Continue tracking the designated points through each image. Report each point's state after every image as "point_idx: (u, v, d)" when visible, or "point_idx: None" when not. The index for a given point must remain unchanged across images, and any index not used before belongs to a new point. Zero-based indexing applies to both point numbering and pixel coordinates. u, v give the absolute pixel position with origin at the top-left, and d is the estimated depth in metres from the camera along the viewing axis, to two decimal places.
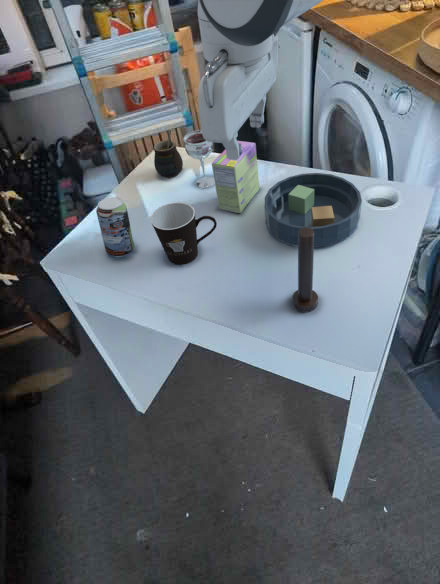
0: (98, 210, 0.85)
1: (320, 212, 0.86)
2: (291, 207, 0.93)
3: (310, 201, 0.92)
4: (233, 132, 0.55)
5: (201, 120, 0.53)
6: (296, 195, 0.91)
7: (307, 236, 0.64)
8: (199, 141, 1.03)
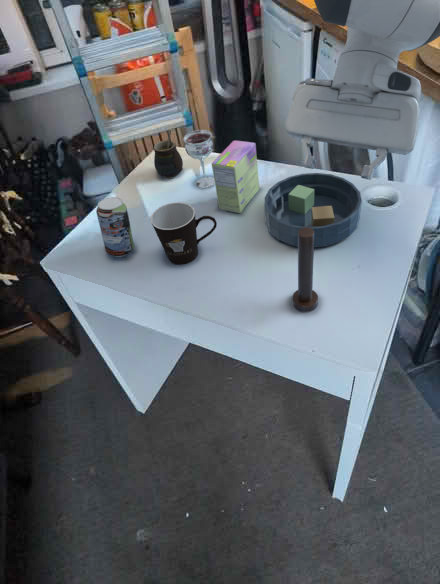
0: (98, 210, 0.85)
1: (320, 212, 0.86)
2: (291, 207, 0.93)
3: (310, 201, 0.92)
4: (295, 127, 0.70)
5: None
6: (296, 195, 0.91)
7: (307, 236, 0.64)
8: (199, 141, 1.03)
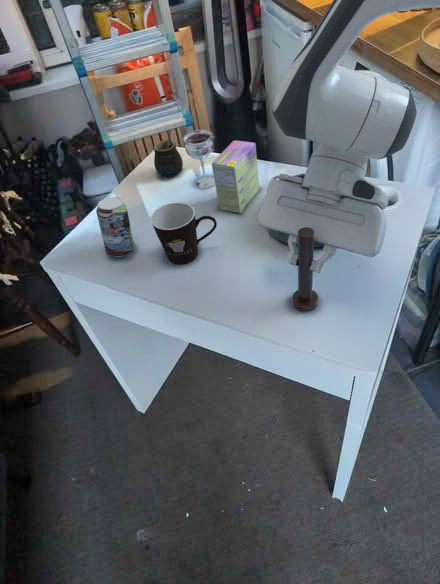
0: (98, 210, 0.85)
1: None
2: None
3: None
4: (265, 221, 0.71)
5: None
6: None
7: (306, 236, 0.64)
8: (199, 141, 1.03)
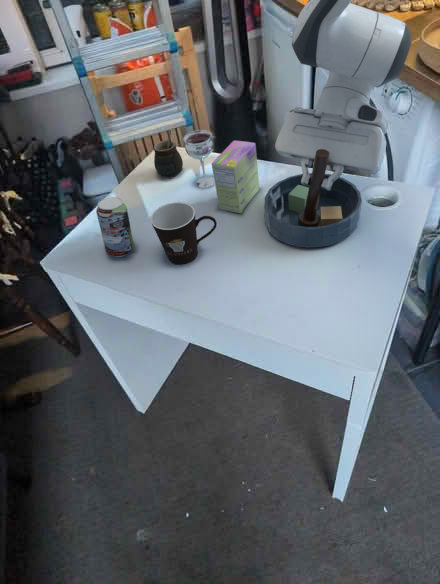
0: (98, 210, 0.85)
1: (328, 212, 0.85)
2: (291, 207, 0.93)
3: None
4: (282, 147, 0.83)
5: None
6: (296, 195, 0.91)
7: (323, 155, 0.76)
8: (199, 141, 1.03)
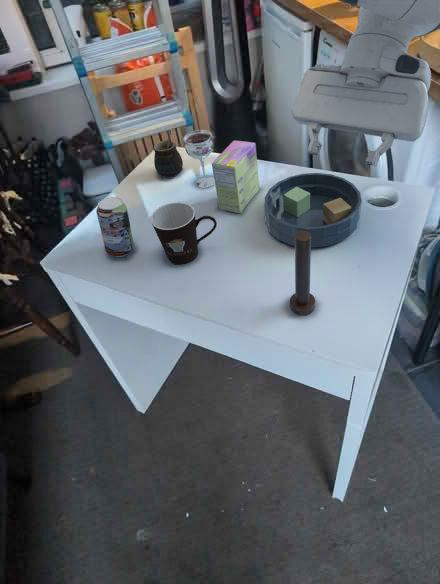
0: (98, 210, 0.85)
1: (336, 204, 0.87)
2: (286, 208, 0.93)
3: (305, 205, 0.92)
4: (301, 112, 0.69)
5: None
6: (290, 197, 0.91)
7: (303, 239, 0.64)
8: (199, 141, 1.03)
